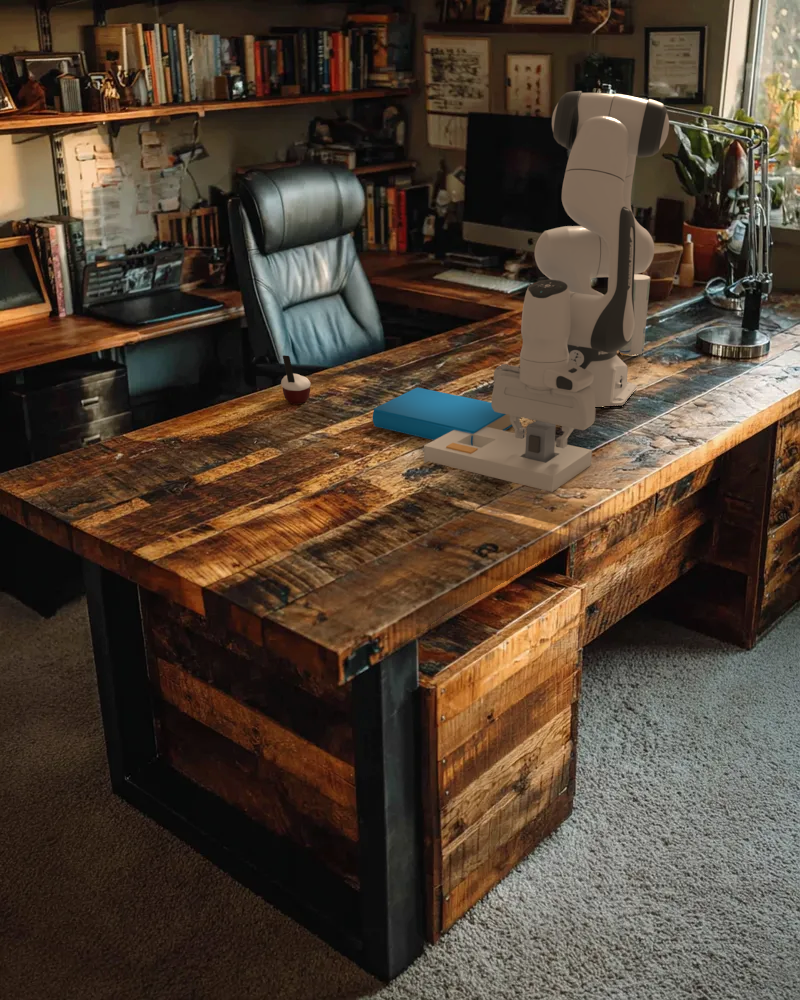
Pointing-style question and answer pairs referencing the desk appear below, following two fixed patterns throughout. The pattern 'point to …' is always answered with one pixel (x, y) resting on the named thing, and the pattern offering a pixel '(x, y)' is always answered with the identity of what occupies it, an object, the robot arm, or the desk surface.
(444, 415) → the book
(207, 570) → the desk surface
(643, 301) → the spray can
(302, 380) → the cocoa
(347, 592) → the desk surface
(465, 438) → the socket board
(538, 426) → the plug
